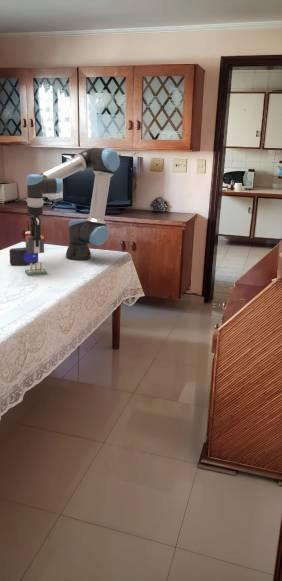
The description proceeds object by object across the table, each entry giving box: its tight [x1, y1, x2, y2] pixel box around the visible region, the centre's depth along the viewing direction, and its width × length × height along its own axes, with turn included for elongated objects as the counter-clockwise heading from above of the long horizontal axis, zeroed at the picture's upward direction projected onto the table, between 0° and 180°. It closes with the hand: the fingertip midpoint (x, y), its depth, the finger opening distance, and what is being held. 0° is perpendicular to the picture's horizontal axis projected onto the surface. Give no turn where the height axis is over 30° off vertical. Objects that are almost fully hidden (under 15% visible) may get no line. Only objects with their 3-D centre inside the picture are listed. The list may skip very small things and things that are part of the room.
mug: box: [24, 230, 46, 243], centre depth 285 cm, size 12×8×11 cm
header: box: [24, 261, 48, 277], centre depth 236 cm, size 10×7×6 cm
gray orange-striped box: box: [25, 234, 45, 254], centre depth 232 cm, size 8×5×8 cm, turn 116°
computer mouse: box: [9, 246, 39, 267], centre depth 250 cm, size 16×5×9 cm, turn 123°
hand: (35, 251), depth 233 cm, fingers closed on gray orange-striped box, 5 cm apart
